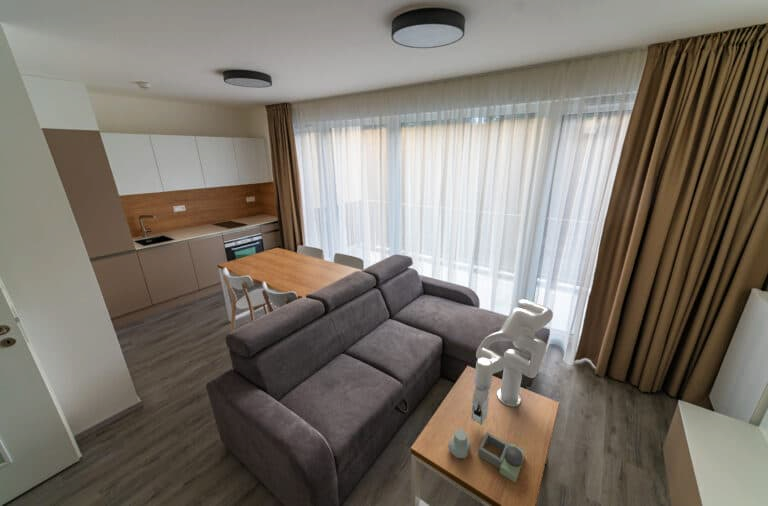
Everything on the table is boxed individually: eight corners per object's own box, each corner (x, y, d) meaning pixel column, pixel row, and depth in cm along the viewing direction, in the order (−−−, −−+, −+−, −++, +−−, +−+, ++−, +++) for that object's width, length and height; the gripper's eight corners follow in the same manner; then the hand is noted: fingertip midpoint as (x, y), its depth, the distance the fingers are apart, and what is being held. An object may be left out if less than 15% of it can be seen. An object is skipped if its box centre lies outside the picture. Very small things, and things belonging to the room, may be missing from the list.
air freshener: (455, 436, 143) (457, 421, 140) (472, 446, 138) (473, 431, 135) (446, 454, 135) (447, 438, 131) (462, 465, 130) (464, 449, 127)
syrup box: (487, 418, 146) (489, 396, 141) (481, 425, 142) (483, 403, 137) (476, 411, 150) (478, 390, 145) (470, 419, 146) (472, 397, 141)
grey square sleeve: (487, 436, 143) (488, 425, 141) (524, 457, 133) (526, 446, 130) (476, 458, 133) (477, 447, 130) (515, 483, 122) (518, 471, 120)
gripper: (481, 368, 146) (479, 395, 152) (467, 390, 134) (465, 418, 140) (496, 374, 142) (493, 402, 148) (483, 397, 129) (480, 426, 135)
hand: (479, 409), depth 144 cm, fingers closed on syrup box, 6 cm apart
